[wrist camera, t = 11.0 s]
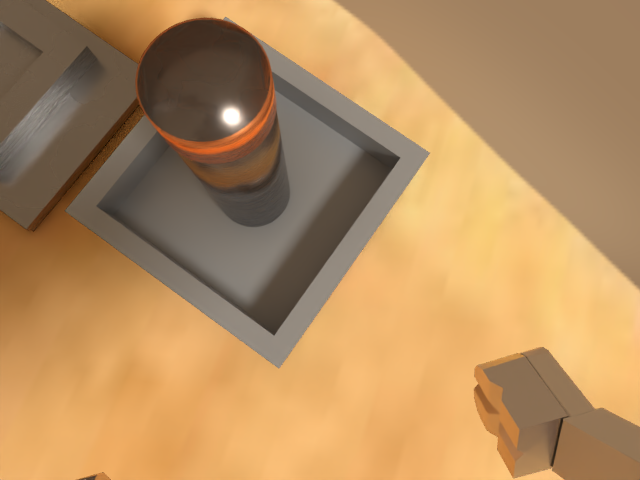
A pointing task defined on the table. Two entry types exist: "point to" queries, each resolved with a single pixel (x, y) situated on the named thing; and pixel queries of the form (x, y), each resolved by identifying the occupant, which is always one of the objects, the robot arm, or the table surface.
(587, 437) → the robot arm
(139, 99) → the pin
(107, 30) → the table surface
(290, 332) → the tray
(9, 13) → the collar plate
